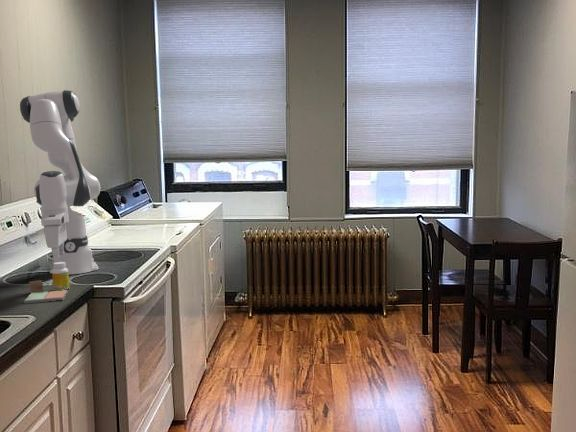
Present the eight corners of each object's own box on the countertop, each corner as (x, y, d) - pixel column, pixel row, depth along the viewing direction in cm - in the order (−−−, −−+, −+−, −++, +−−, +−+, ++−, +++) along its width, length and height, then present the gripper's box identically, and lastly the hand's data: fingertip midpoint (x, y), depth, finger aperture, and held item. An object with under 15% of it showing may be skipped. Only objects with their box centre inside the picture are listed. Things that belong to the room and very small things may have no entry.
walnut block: (30, 292, 218) (29, 281, 218) (42, 291, 220) (41, 280, 220) (30, 295, 215) (29, 283, 214) (43, 293, 217) (42, 282, 216)
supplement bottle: (64, 291, 218) (62, 264, 217) (50, 291, 219) (48, 264, 218) (72, 288, 223) (70, 261, 222) (58, 288, 224) (56, 261, 223)
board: (31, 295, 213) (30, 292, 213) (67, 293, 216) (67, 289, 216) (24, 303, 203) (23, 300, 203) (62, 300, 205) (62, 297, 205)
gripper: (51, 215, 227) (54, 253, 229) (40, 221, 207) (43, 262, 209) (69, 214, 229) (72, 252, 230) (60, 220, 209) (63, 260, 210)
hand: (58, 257), depth 219 cm, fingers open, 8 cm apart
